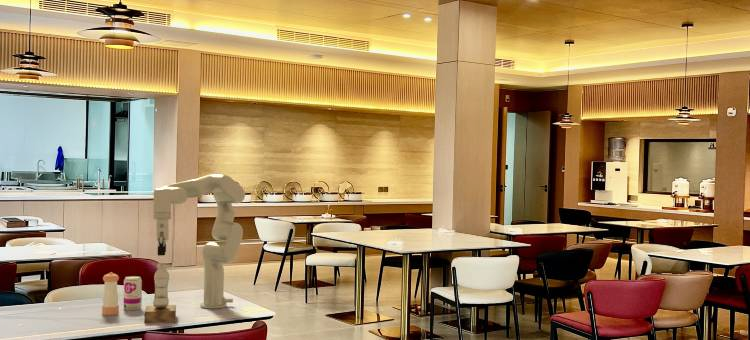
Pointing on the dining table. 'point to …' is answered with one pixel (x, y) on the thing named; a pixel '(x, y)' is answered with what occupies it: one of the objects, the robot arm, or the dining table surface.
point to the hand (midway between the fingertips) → (161, 253)
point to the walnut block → (160, 314)
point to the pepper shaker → (110, 295)
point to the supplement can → (132, 293)
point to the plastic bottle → (161, 287)
